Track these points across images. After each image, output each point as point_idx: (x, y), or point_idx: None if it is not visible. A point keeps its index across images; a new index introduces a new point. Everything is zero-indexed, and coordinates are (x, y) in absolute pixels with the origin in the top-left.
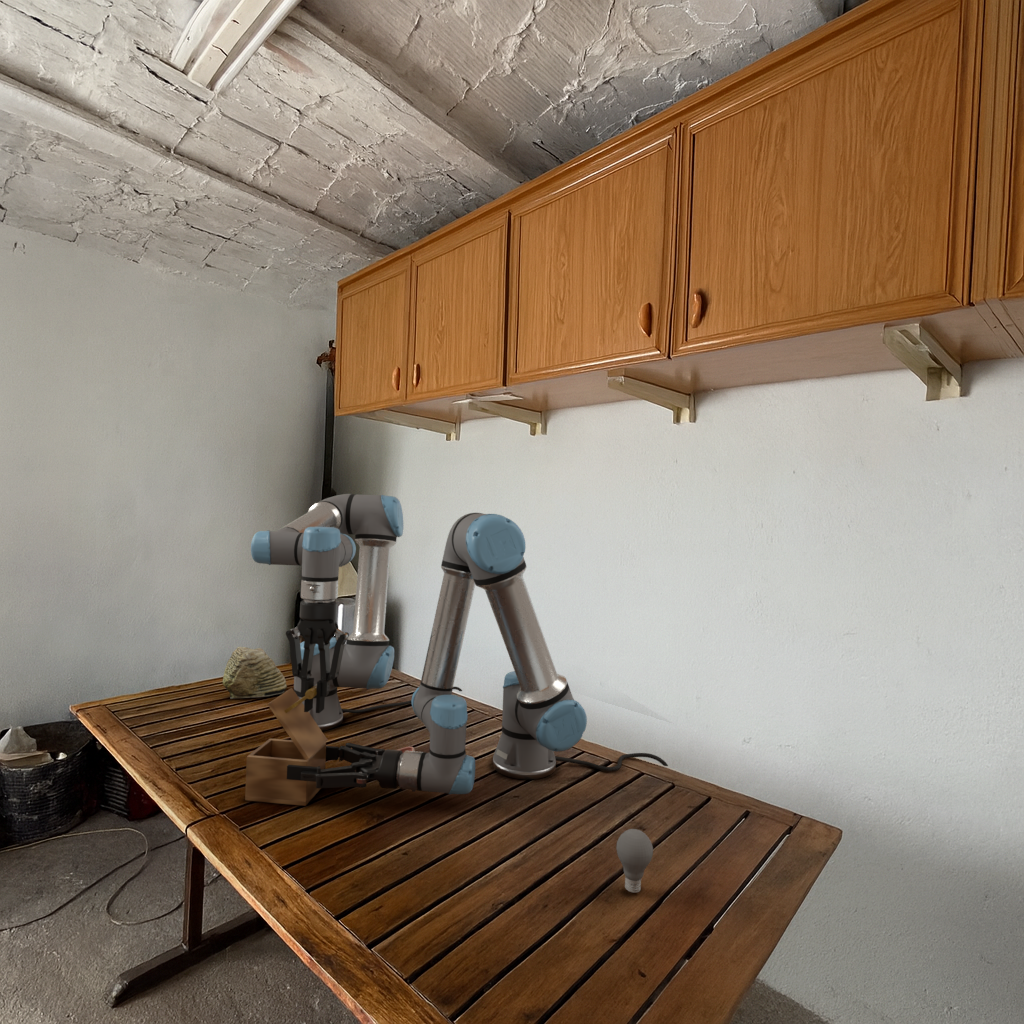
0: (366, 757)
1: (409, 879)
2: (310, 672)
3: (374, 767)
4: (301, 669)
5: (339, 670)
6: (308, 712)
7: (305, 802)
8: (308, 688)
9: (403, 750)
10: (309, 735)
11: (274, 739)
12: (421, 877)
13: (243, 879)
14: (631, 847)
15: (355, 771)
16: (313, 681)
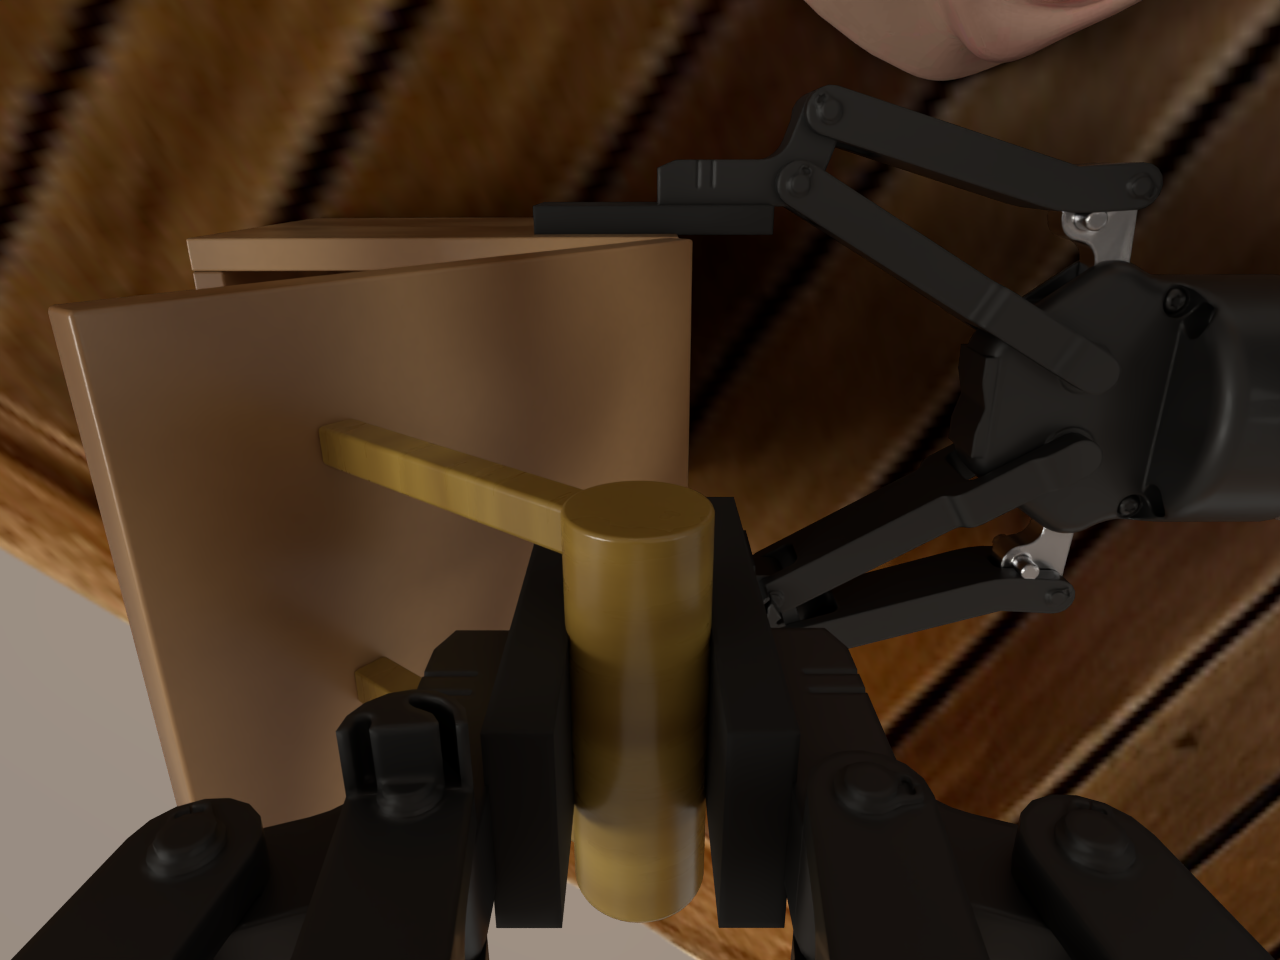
0: (1035, 362)
1: (1206, 863)
2: (469, 866)
3: (1108, 486)
4: (230, 933)
5: (1229, 918)
6: (467, 278)
7: None
8: (571, 828)
9: None
10: (608, 464)
11: (235, 252)
12: (1248, 850)
13: (669, 928)
14: None
15: (810, 5)
16: (560, 711)
